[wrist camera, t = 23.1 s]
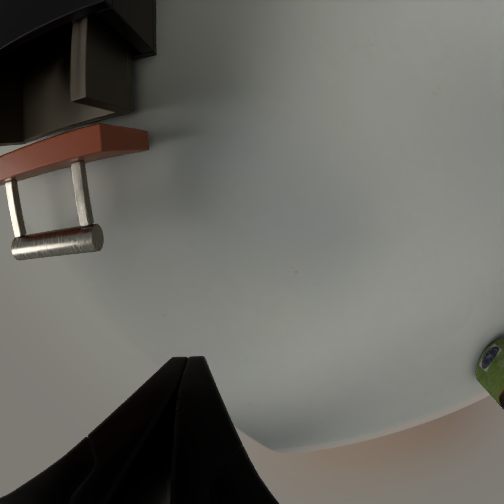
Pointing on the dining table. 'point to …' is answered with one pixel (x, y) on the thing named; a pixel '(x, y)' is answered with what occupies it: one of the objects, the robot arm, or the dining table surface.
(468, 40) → the dining table surface
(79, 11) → the small drawer box
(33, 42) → the drawer with bar handle
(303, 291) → the dining table surface
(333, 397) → the dining table surface
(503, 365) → the beverage can
